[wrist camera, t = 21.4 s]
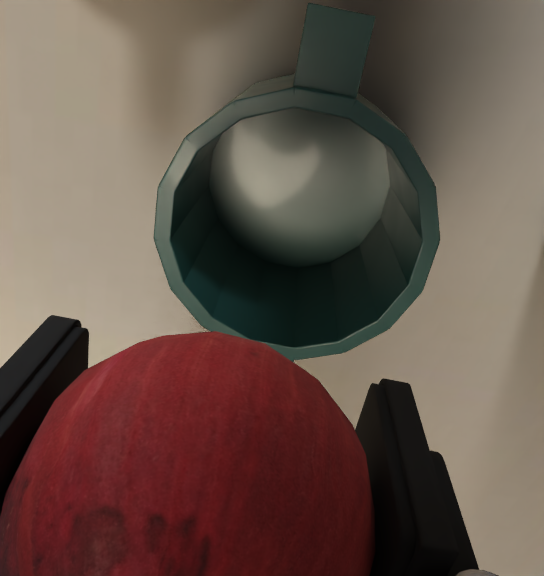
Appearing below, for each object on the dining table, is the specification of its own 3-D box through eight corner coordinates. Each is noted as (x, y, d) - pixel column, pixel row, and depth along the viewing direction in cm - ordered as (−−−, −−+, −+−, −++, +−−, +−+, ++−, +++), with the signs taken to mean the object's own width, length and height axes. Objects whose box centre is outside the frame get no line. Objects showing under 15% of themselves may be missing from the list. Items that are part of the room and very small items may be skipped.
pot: (185, 292, 33) (141, 381, 24) (219, -4, 25) (174, -27, 17) (359, 325, 33) (376, 424, 25) (442, 41, 26) (509, 41, 17)
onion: (68, 402, 13) (-256, 887, 5) (174, 211, 10) (-144, 619, 3) (269, 502, 14) (225, 1022, 6) (406, 351, 11) (579, 897, 4)
